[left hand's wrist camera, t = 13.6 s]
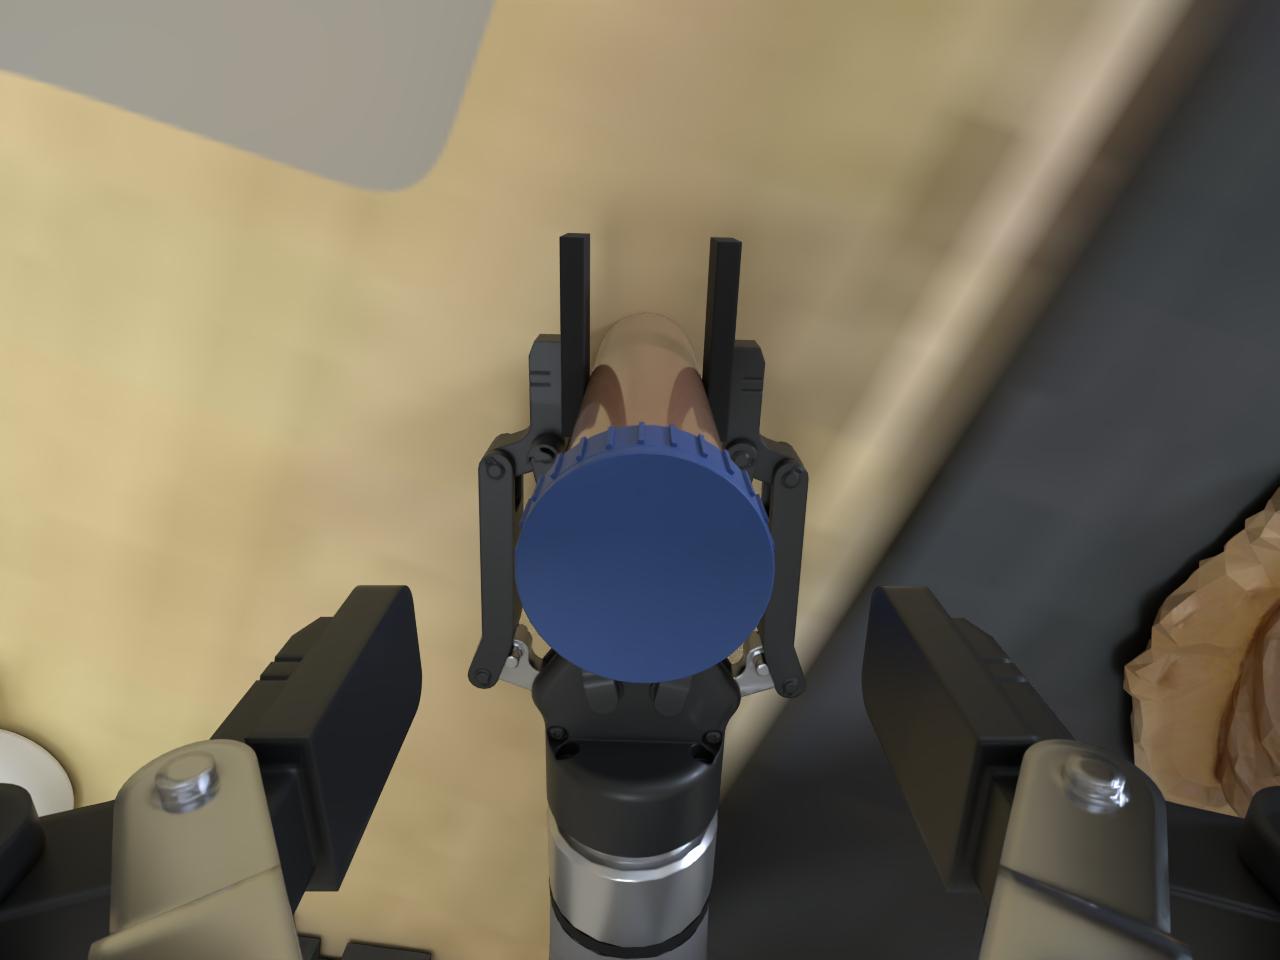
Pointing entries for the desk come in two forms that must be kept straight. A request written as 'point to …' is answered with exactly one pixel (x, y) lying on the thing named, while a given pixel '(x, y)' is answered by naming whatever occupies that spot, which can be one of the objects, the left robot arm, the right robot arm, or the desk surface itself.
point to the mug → (35, 773)
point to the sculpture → (1215, 677)
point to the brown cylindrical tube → (645, 382)
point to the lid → (644, 555)
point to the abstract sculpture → (359, 952)
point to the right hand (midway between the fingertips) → (650, 239)
